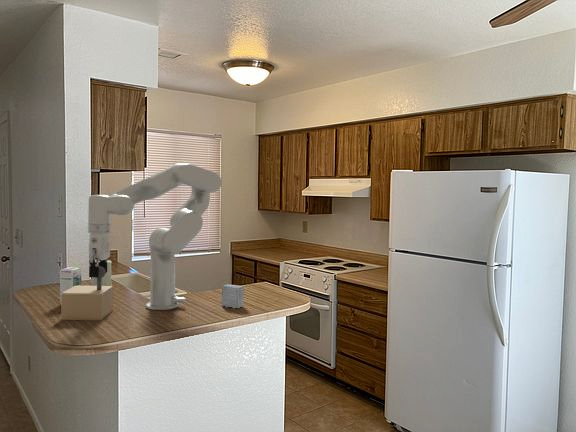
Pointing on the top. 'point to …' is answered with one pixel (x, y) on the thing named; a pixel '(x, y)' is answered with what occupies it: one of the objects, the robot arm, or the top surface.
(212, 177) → the robot arm
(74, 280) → the syrup box
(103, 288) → the lid
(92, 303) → the wooden box
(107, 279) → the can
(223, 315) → the top surface
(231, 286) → the medicine box
